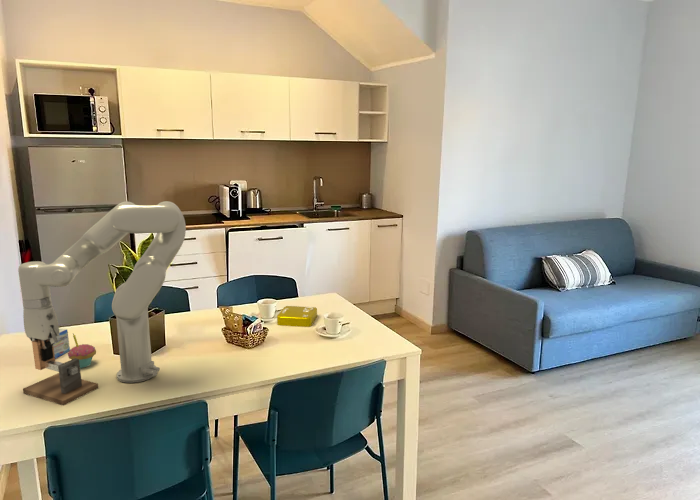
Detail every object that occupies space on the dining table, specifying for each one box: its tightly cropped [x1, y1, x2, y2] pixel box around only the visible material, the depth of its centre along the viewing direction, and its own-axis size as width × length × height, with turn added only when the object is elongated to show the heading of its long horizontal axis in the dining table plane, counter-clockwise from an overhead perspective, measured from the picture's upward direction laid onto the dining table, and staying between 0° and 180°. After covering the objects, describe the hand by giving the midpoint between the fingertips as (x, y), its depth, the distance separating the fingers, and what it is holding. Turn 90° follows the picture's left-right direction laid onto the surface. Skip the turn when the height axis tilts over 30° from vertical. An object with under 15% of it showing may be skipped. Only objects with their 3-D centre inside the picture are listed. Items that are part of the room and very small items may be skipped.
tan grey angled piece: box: [31, 339, 78, 375], centre depth 157 cm, size 14×5×9 cm, turn 66°
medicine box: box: [53, 328, 71, 360], centre depth 185 cm, size 8×4×9 cm, turn 168°
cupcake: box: [67, 333, 97, 369], centre depth 176 cm, size 9×8×12 cm
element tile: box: [276, 305, 318, 328], centre depth 222 cm, size 15×15×5 cm
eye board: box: [22, 358, 99, 406], centre depth 158 cm, size 18×12×10 cm, turn 66°
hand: (44, 358), depth 160 cm, fingers closed on tan grey angled piece, 2 cm apart
